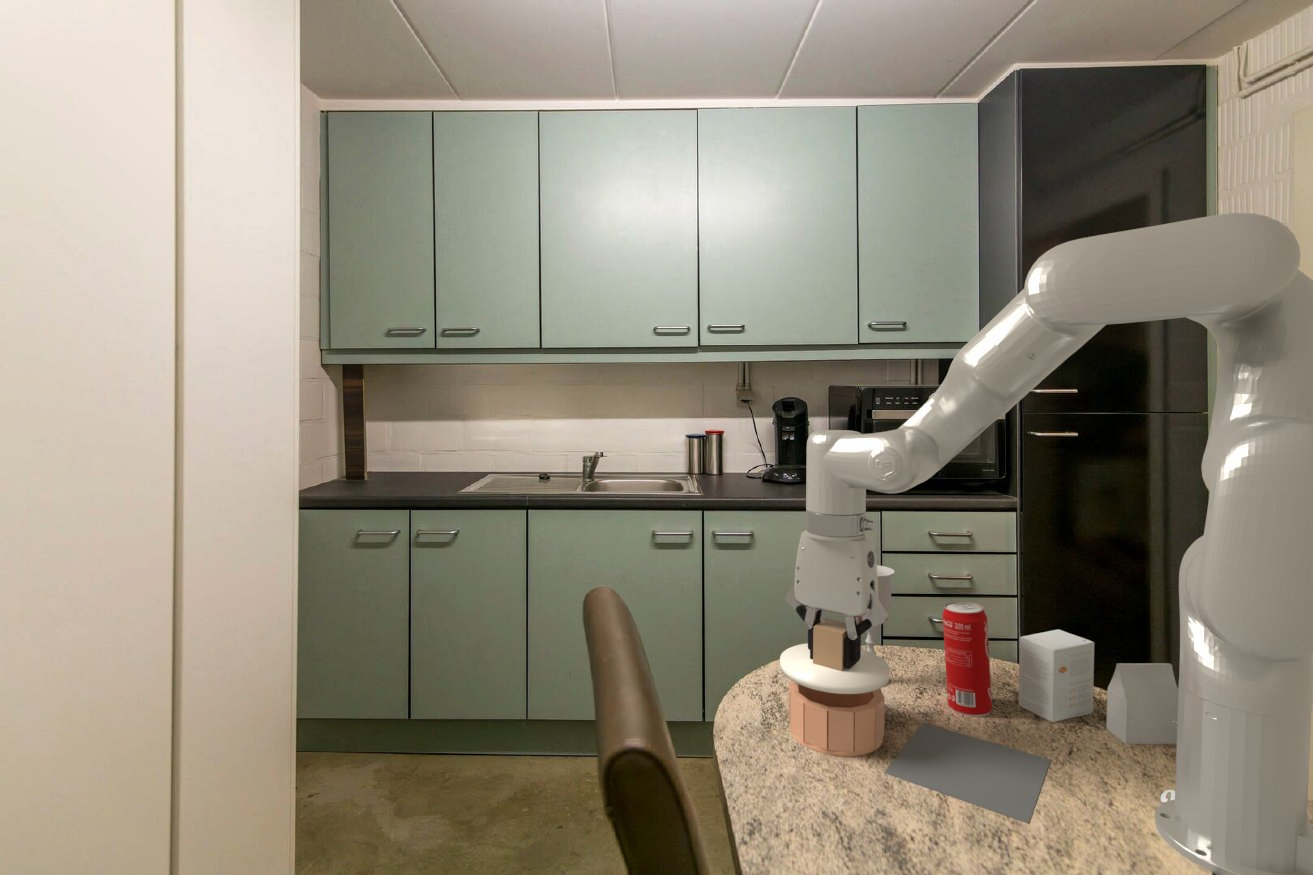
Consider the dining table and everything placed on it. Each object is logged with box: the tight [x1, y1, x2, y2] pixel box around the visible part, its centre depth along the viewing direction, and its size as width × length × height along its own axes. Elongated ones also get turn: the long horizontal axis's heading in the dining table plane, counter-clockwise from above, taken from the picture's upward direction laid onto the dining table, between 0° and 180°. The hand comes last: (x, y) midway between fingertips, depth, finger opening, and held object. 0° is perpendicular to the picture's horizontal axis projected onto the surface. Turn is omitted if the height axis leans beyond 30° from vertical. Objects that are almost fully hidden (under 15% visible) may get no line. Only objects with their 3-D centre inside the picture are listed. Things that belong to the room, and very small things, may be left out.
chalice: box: [863, 564, 895, 655], centre depth 101 cm, size 7×7×18 cm
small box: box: [1018, 629, 1095, 723], centre depth 91 cm, size 8×6×10 cm
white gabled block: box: [1106, 662, 1178, 745], centre depth 83 cm, size 4×7×10 cm, turn 89°
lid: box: [779, 618, 891, 694], centre depth 85 cm, size 14×14×6 cm
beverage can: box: [942, 601, 993, 717], centre depth 92 cm, size 6×6×15 cm
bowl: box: [788, 680, 885, 758], centre depth 86 cm, size 12×12×6 cm
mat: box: [884, 722, 1051, 824], centre depth 77 cm, size 15×15×1 cm
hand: (833, 659), depth 85 cm, fingers closed on lid, 4 cm apart
